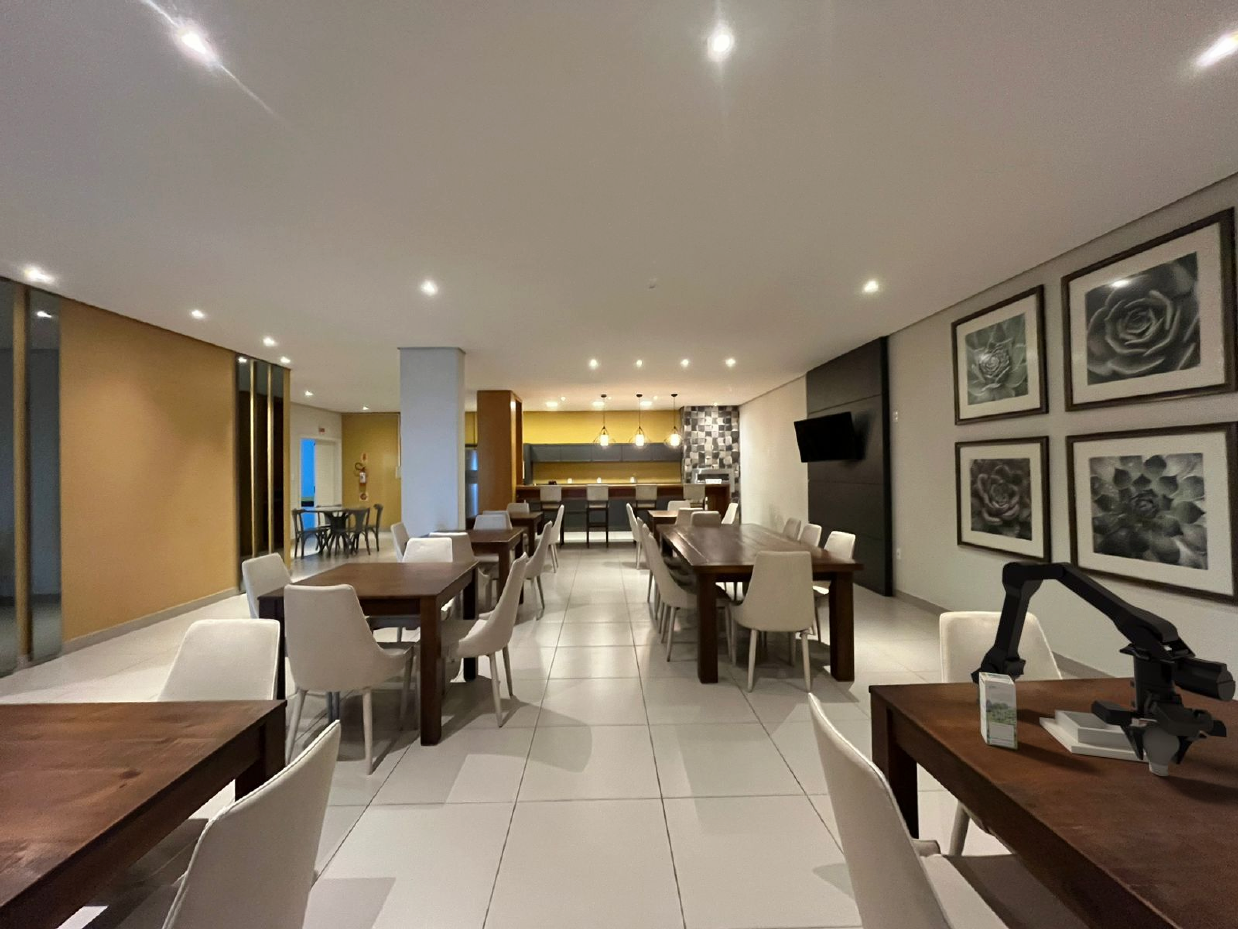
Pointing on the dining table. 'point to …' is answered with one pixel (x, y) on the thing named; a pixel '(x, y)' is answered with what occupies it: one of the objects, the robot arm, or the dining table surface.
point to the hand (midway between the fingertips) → (1158, 761)
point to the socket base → (1090, 735)
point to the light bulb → (1158, 747)
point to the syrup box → (998, 710)
